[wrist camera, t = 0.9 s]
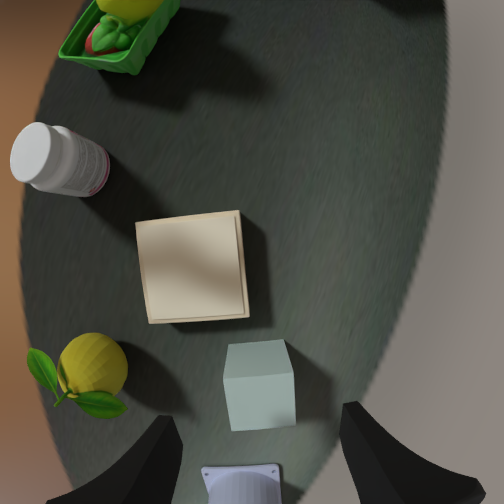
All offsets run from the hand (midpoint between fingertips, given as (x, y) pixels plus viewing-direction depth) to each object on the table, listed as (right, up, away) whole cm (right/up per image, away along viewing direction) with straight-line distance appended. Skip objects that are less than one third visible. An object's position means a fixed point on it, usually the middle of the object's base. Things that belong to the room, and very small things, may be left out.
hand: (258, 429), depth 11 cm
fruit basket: (-11, +28, +11) cm, 32 cm away
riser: (-5, +6, +12) cm, 15 cm away
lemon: (-13, -1, +13) cm, 19 cm away
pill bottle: (-14, +14, +12) cm, 24 cm away
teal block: (0, -2, +13) cm, 13 cm away
